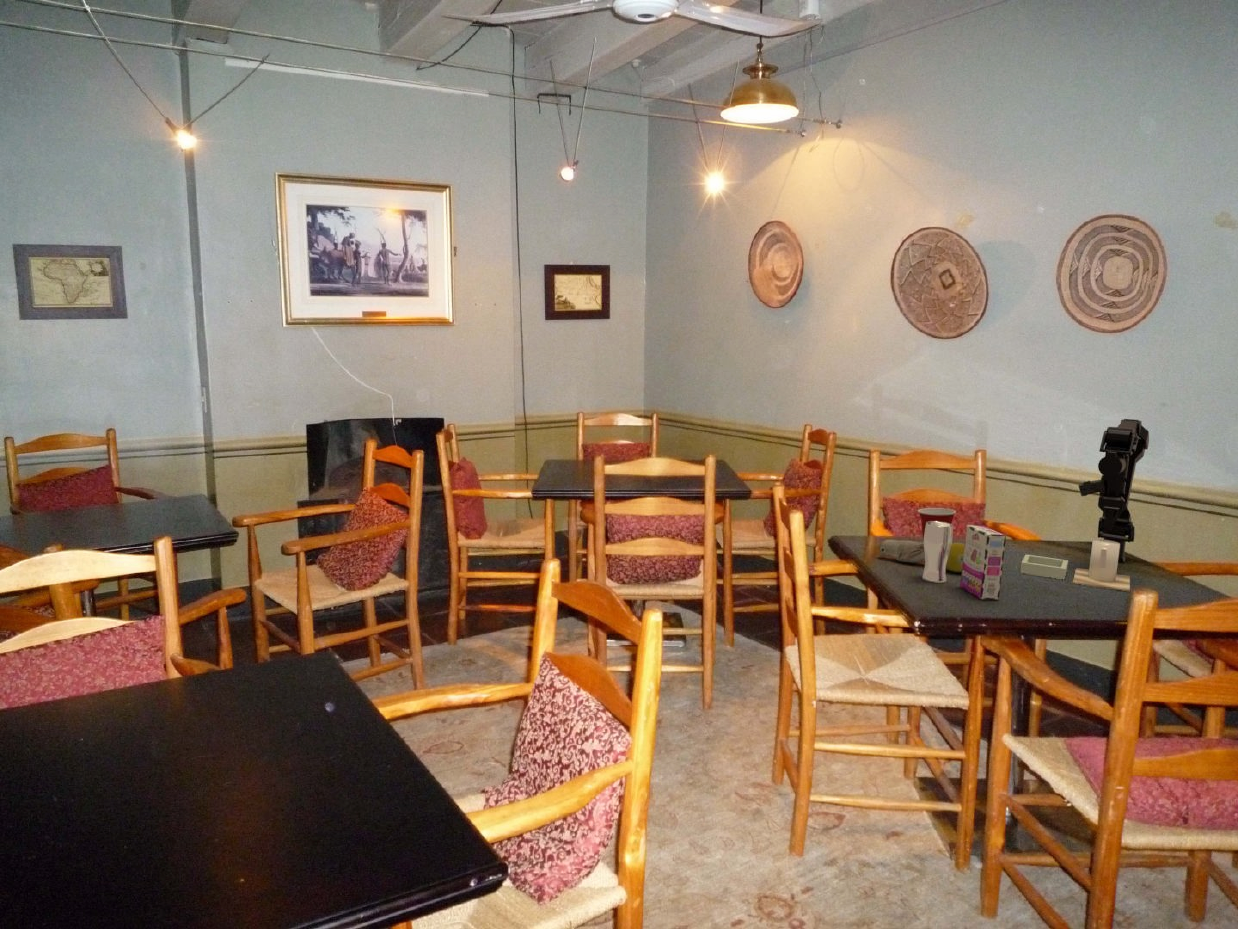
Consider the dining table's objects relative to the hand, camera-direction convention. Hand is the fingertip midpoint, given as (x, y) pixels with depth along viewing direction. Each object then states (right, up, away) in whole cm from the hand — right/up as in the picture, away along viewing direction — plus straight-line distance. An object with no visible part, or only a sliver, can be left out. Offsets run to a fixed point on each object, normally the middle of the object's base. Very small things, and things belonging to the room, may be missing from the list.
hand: (1108, 527), depth 242 cm
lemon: (-44, -12, -6) cm, 46 cm away
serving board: (-7, -14, -10) cm, 18 cm away
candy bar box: (-47, -15, -25) cm, 55 cm away
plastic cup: (-42, -8, +20) cm, 47 cm away
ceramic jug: (-7, -13, -10) cm, 18 cm away
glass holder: (-20, -12, -3) cm, 23 cm away
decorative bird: (-56, -10, +2) cm, 57 cm away
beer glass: (-54, -13, -14) cm, 57 cm away
